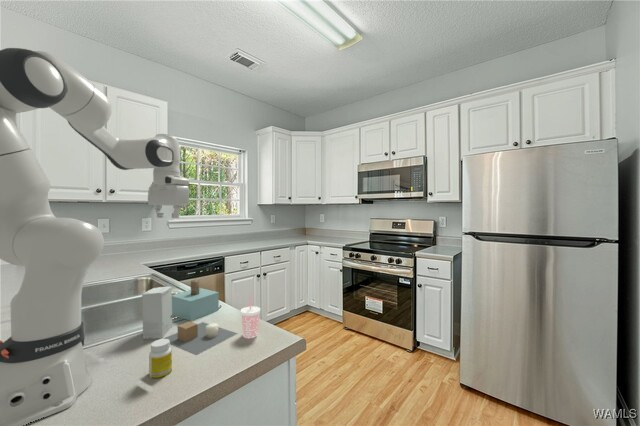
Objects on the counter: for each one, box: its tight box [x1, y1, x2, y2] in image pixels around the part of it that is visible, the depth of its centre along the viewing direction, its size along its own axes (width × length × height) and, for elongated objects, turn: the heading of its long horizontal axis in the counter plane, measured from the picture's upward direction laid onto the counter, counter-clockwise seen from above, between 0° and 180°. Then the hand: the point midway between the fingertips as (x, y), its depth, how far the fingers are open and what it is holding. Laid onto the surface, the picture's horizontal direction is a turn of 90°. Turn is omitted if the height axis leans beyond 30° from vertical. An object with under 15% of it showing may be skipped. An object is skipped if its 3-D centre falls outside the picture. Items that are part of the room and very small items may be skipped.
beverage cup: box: [240, 293, 261, 339], centre depth 88 cm, size 6×6×14 cm
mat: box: [162, 320, 239, 356], centre depth 87 cm, size 15×17×5 cm
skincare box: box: [141, 286, 173, 340], centre depth 89 cm, size 8×6×15 cm
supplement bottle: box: [148, 338, 173, 379], centre depth 68 cm, size 5×5×8 cm
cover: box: [172, 279, 220, 322], centre depth 106 cm, size 12×12×13 cm
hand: (167, 218), depth 103 cm, fingers open, 8 cm apart
